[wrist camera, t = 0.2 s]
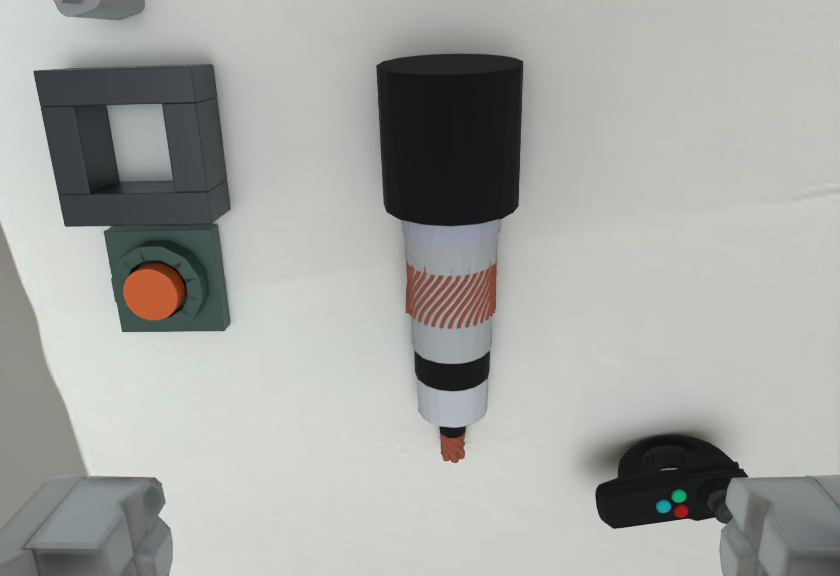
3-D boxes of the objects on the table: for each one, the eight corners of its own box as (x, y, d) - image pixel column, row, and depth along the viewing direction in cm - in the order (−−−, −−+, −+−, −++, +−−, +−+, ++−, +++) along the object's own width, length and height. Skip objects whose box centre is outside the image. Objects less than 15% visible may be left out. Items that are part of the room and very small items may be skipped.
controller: (720, 458, 64) (767, 530, 54) (586, 481, 65) (609, 555, 56) (715, 417, 62) (763, 484, 53) (578, 442, 64) (601, 511, 54)
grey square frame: (68, 68, 54) (32, 70, 50) (213, 64, 54) (190, 66, 49) (95, 211, 58) (64, 226, 54) (230, 209, 58) (211, 224, 53)
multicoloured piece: (430, 410, 68) (375, 471, 60) (421, 51, 54) (347, 70, 46) (526, 439, 64) (480, 509, 56) (544, 56, 49) (486, 78, 41)
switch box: (112, 226, 59) (92, 237, 55) (217, 224, 58) (203, 235, 55) (130, 324, 62) (112, 340, 58) (230, 323, 61) (218, 339, 58)
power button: (127, 262, 56) (118, 269, 55) (181, 262, 56) (173, 268, 55) (136, 313, 58) (127, 321, 56) (188, 312, 58) (181, 320, 56)
